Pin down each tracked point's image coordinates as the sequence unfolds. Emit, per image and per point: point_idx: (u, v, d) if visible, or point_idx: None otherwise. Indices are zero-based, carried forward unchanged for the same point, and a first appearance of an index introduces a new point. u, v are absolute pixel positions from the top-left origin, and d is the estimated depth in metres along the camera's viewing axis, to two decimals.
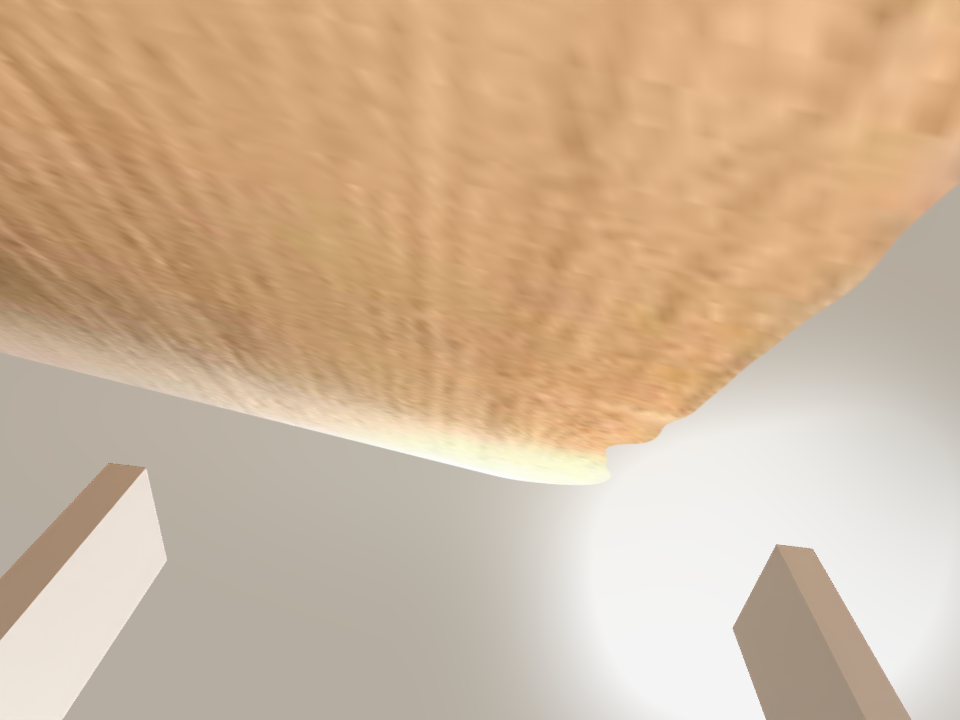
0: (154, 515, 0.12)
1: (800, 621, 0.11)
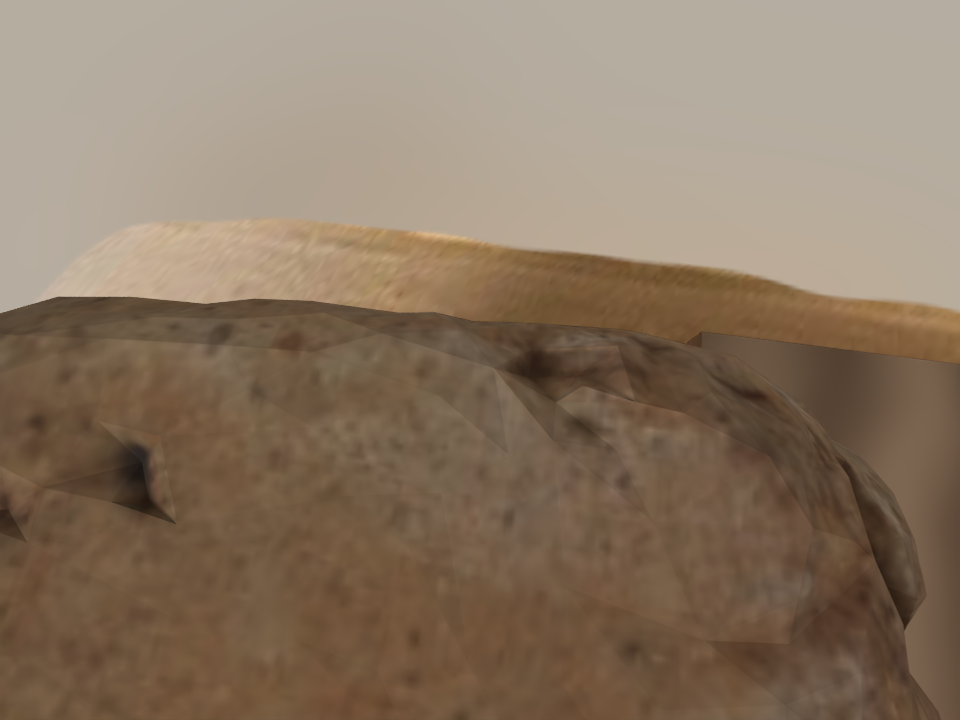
0: None
1: None
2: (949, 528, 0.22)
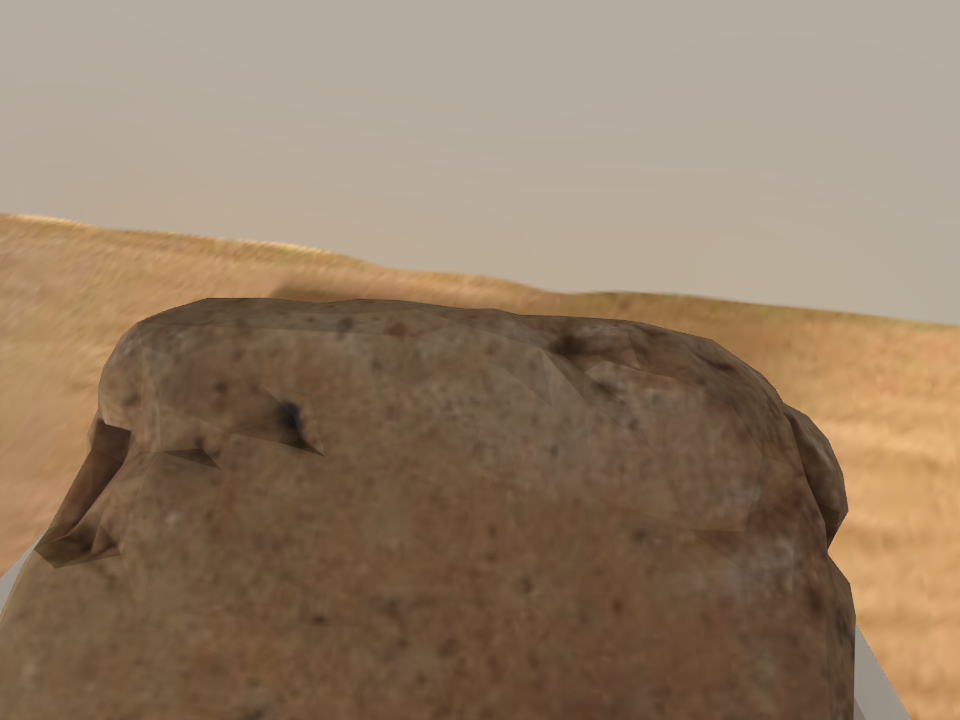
0: None
1: None
2: None
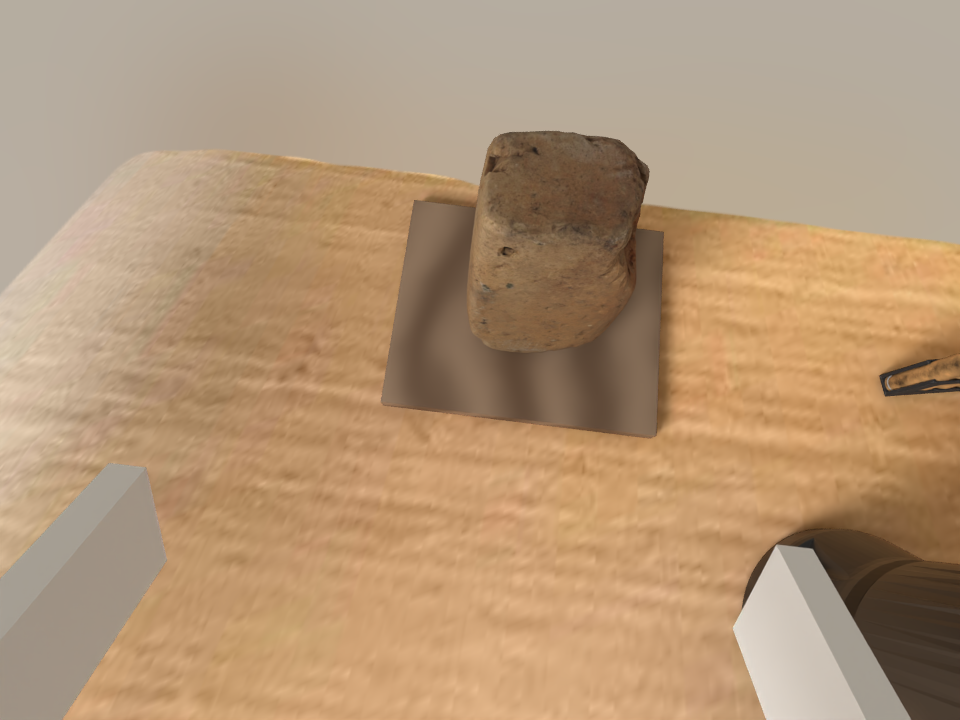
0: (154, 515, 0.12)
1: (800, 621, 0.11)
2: None
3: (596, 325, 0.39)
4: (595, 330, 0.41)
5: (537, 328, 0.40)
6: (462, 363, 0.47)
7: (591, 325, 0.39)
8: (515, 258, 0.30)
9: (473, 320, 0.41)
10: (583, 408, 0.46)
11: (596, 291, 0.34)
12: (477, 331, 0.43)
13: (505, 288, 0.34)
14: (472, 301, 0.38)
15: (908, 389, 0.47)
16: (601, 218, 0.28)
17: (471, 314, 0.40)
